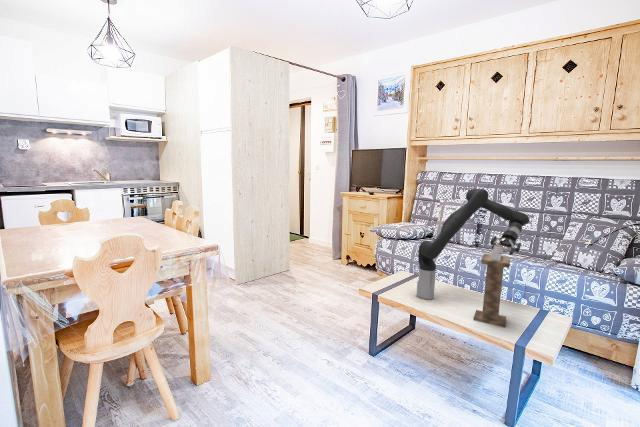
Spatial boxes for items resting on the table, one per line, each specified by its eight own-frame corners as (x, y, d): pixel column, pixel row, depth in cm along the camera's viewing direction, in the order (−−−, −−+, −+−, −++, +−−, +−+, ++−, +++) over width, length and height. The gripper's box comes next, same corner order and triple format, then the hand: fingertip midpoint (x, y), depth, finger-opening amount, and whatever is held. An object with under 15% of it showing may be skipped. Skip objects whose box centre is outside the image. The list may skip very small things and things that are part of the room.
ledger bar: (490, 260, 158) (491, 253, 158) (493, 251, 175) (494, 245, 175) (500, 261, 156) (501, 254, 156) (502, 252, 173) (503, 246, 173)
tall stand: (473, 320, 164) (479, 259, 160) (476, 311, 175) (481, 253, 171) (505, 328, 157) (512, 264, 152) (506, 318, 168) (512, 257, 163)
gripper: (498, 226, 189) (488, 241, 179) (526, 233, 180) (517, 249, 171) (496, 237, 193) (486, 252, 183) (523, 244, 184) (515, 260, 174)
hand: (501, 251), depth 177 cm, fingers open, 8 cm apart
